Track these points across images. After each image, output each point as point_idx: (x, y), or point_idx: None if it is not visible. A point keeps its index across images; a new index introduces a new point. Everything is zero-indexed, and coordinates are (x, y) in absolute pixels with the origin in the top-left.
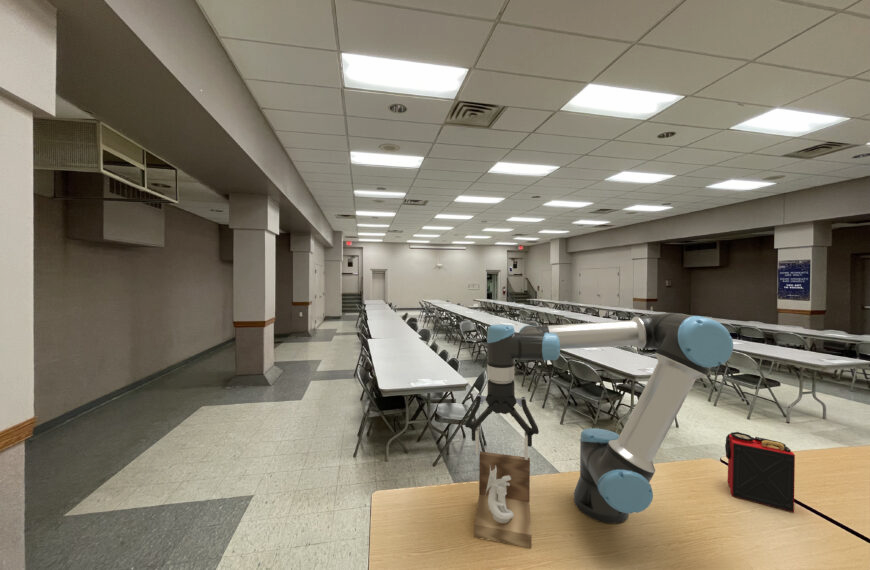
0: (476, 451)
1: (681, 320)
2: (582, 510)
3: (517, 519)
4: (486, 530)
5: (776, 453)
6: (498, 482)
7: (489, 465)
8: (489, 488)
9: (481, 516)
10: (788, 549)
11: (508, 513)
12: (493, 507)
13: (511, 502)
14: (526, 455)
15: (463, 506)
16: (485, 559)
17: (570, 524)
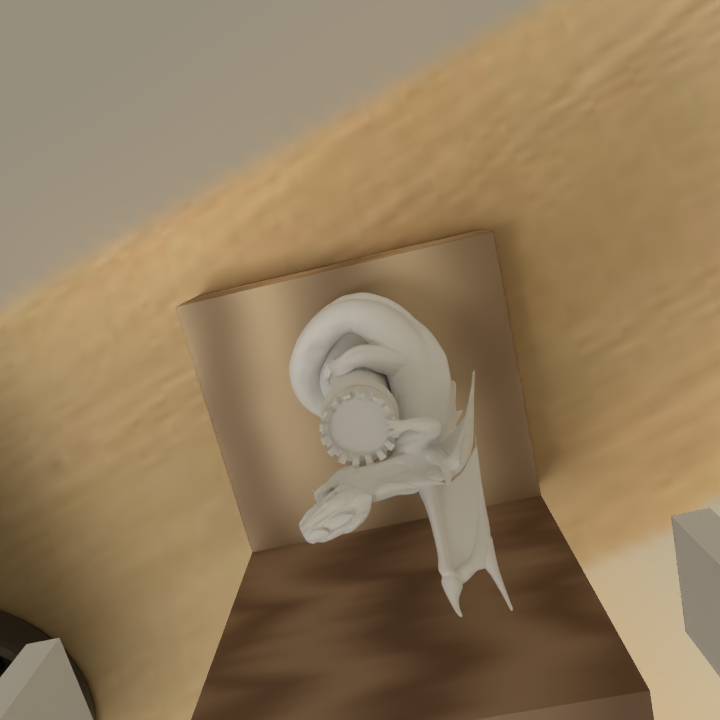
0: (714, 529)
1: None
2: (33, 636)
3: (275, 387)
4: (418, 247)
5: None
6: (395, 468)
7: (522, 636)
8: None
9: (471, 315)
10: None
11: (306, 348)
12: (396, 320)
13: None
14: (11, 683)
15: (604, 421)
16: (381, 114)
17: (73, 531)
